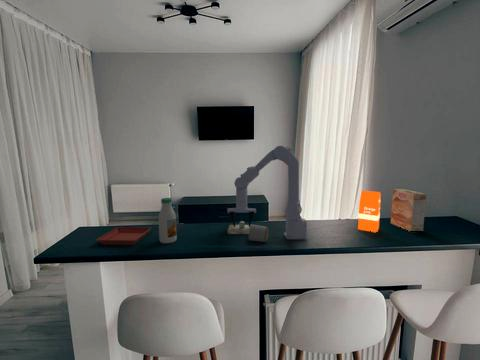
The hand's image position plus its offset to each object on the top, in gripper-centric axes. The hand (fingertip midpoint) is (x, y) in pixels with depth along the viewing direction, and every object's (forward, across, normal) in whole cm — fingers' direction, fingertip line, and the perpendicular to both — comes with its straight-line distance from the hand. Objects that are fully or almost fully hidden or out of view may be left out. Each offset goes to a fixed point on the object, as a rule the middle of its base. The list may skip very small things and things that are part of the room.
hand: (241, 226), depth 130 cm
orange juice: (+2, -66, -4) cm, 66 cm away
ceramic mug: (+3, -8, +13) cm, 15 cm away
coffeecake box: (+2, -87, -7) cm, 87 cm away
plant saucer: (+3, +55, +12) cm, 56 cm away
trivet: (+2, 0, 0) cm, 2 cm away
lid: (+2, 0, 0) cm, 2 cm away
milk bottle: (+3, +34, +14) cm, 37 cm away
